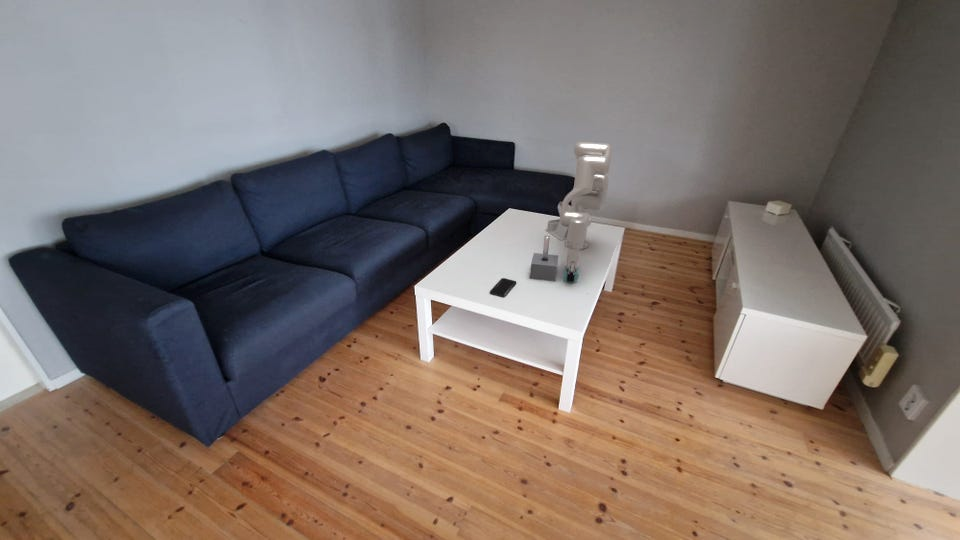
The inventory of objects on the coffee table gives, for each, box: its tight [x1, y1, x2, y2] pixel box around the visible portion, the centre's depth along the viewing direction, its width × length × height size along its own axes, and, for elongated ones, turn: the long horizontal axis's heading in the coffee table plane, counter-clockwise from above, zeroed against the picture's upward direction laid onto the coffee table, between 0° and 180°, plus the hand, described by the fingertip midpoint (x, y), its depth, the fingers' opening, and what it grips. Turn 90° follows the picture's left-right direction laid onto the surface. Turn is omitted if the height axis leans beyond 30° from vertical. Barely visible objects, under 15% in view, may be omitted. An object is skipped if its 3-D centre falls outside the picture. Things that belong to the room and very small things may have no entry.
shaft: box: [542, 235, 550, 261], centre depth 187 cm, size 2×2×14 cm
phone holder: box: [546, 201, 572, 242], centre depth 232 cm, size 17×10×18 cm, turn 23°
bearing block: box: [529, 252, 559, 282], centre depth 191 cm, size 12×12×8 cm
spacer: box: [562, 265, 579, 284], centre depth 188 cm, size 6×6×5 cm
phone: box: [489, 277, 517, 298], centre depth 181 cm, size 8×1×15 cm
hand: (570, 277), depth 189 cm, fingers closed on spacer, 6 cm apart
